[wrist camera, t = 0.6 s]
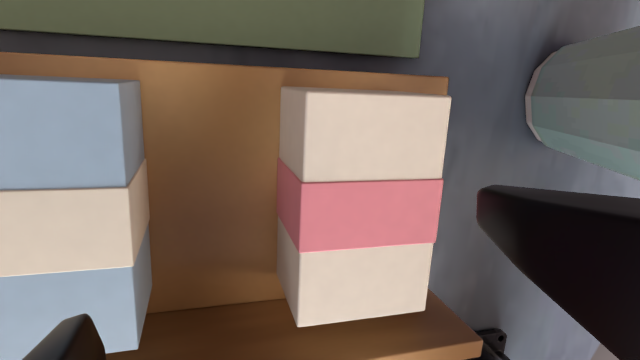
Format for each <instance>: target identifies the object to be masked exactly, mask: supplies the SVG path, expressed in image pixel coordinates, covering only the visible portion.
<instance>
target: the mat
mask: <svg viewBox="0 0 640 360" xmlns="http://www.w3.org/2000/svg"><path fill="white" fill-rule="evenodd" d="M424 3H425V0H0V29H1V30H15V31H30V32H44V33H58V34H73V35H87V36H102V37H116V38H131V39H145V40H160V41H174V42H189V43H203V44H217V45H232V46H246V47H261V48H275V49H290V50H304V51H319V52H333V53H348V54H362V55H376V56H391V57H405V58H419V51H420V41H421V32H422V22H423V12H424Z"/></svg>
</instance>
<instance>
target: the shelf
mask: <svg viewBox="0 0 640 360" xmlns="http://www.w3.org/2000/svg"><path fill="white" fill-rule="evenodd" d="M0 74H7V75H31V76H54V77H78V78H102V79H125V80H139V81H140V92H141V109H142V125H143V141H144V158H145V159H146V163H147V180H148V197H149V213H150V219H149V222H148V223H149V240H150V256H151V272H152V289H151V293H150V298H149V302H148V307H147V311H146V316H145V320H144V325H143V329H142V334H141V338H140V343H139V347H138V349H136V350H129V351H121V352H114V353H106V360H464V359H470V358H476V357H480V356H481V351H482V345H483V340H482V338H480V337H479V336H478V335H477V334H476V333H475V332H474V331H473V330H472V329H471V328H470V327H469V326H468V325H467V324H466V323H465V322H463V321H462V320H461V319H460V318H459V317H458V316H457V315H456V314H455V313H454V312H453V311H452V310H451V309H450V308H449V307H448V306H446V305H445V304H444V303H443V302H442V301H441V300H440V299H439V298H438V297H437V296H436V295H435V294H434V293H433V292H432V291H431V290H429V289H428V290H427V298H426V306H425V310H424V311H419V312H412V313H404V314H397V315H389V316H382V317H374V318H366V319H359V320H351V321H344V322H336V323H329V324H321V325H313V326H306V327H297V325H296V323H295V320H294V317H293V315H292V312H291V310H290V307H289V304H288V302H287V299H286V297H285V294H284V291H283V289H282V286H281V284H280V281H279V279H278V276H277V232H278V214H277V212H276V209H277V164H278V158H279V145H280V101H281V87H283V86H289V87H313V88H336V89H360V90H383V91H401V92H412V93H423V94H434V95H445V96H447V90H448V82H449V78H448V77H444V76H426V75H408V74H390V73H372V72H354V71H337V70H319V69H301V68H283V67H265V66H247V65H229V64H211V63H194V62H176V61H158V60H140V59H122V58H104V57H86V56H68V55H50V54H33V53H15V52H0Z"/></svg>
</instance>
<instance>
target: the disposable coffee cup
mask: <svg viewBox="0 0 640 360" xmlns="http://www.w3.org/2000/svg"><path fill="white" fill-rule="evenodd" d="M525 104H526V122H527V124H528V125H529V127H530V128H531V130H532V132H533V133H534V135H535V136H536V138H537V140H539V141H542V142H543V144H544V145H545V146H546V147H549V148H552V149H554V150H557V151H560V152H563V153H565V154H568V155H571V156H574V157H576V158H579V159H582V160H585V161H587V162H590V163H593V164H596V165H598V166H601V167H604V168H607V169H609V170H612V171H615V172H618V173H620V174H623V175H626V176H629V177H631V178H634V179H637V180H640V26H637V27H634V28H630V29H626V30H622V31H619V32H615V33H611V34H607V35H604V36H600V37H596V38H592V39H589V40H585V41H581V42H577V43H574V44H570V45H566V46H562V47H561V48H560V49H559V50H558V51H556V52H553V53H552V54H551V55H550V56H549V57H548V58H547V59H546V60H545V61H544V62H543V63H542V64H541V65H540V66H539V67H538V68H537V69H536V70H535V71H534V74H533V76H532V79H531V82H530V84H529V87H528V90H527V92H526V95H525Z"/></svg>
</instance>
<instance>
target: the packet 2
mask: <svg viewBox="0 0 640 360" xmlns="http://www.w3.org/2000/svg"><path fill="white" fill-rule="evenodd" d="M450 106H451V97H450V96H445V95H434V94H423V93H412V92H401V91H383V90H360V89H336V88H313V87H289V86H283V87H281V101H280V145H279V158H278V164H277V209H276V212H277V214H278V232H277V276H278V279H279V281H280V284H281V286H282V289H283V291H284V294H285V297H286V299H287V302H288V304H289V307H290V310H291V312H292V315H293V317H294V320H295V323H296V325H297V327H306V326H313V325H321V324H329V323H336V322H344V321H351V320H359V319H366V318H374V317H382V316H389V315H397V314H404V313H412V312H419V311H424V310H425V306H426V298H427V290H428V282H429V274H430V266H431V258H432V250H433V243H435V242H436V236H437V229H438V221H439V213H440V205H441V197H442V189H443V181H444V180H443V179H442V170H443V162H444V154H445V146H446V138H447V130H448V122H449V114H450Z"/></svg>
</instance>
